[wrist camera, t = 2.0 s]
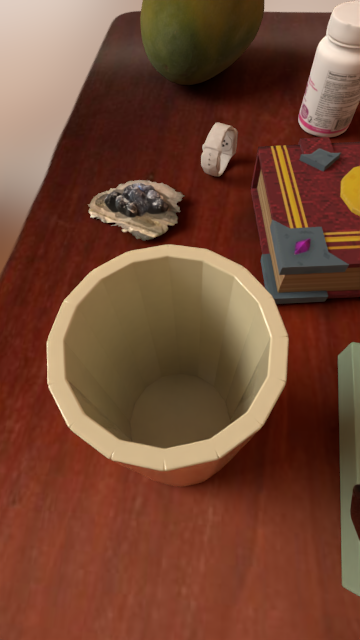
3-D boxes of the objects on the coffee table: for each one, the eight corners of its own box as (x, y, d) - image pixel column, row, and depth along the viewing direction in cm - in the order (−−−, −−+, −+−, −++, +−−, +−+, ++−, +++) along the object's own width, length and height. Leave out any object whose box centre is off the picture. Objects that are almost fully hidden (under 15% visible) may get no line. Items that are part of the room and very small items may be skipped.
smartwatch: (218, 188, 29) (222, 144, 25) (195, 180, 29) (196, 136, 26) (235, 162, 30) (241, 118, 27) (213, 156, 31) (216, 111, 27)
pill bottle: (297, 106, 34) (327, -4, 26) (347, 110, 33) (391, -2, 26) (296, 136, 32) (327, 26, 24) (349, 141, 31) (398, 29, 24)
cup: (229, 498, 18) (281, 496, 8) (110, 472, 19) (6, 438, 8) (242, 380, 21) (293, 259, 10) (139, 362, 22) (90, 232, 11)
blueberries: (174, 249, 26) (173, 231, 24) (75, 237, 27) (67, 219, 25) (188, 187, 29) (188, 168, 27) (99, 178, 30) (93, 159, 28)
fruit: (258, 48, 39) (277, -83, 31) (248, 112, 34) (267, -25, 25) (160, 42, 41) (151, -84, 32) (134, 103, 35) (115, -30, 26)
